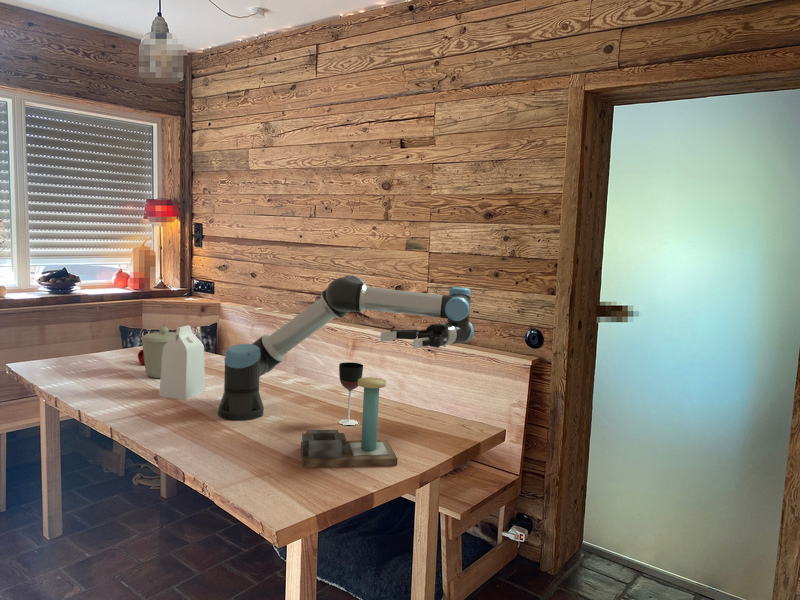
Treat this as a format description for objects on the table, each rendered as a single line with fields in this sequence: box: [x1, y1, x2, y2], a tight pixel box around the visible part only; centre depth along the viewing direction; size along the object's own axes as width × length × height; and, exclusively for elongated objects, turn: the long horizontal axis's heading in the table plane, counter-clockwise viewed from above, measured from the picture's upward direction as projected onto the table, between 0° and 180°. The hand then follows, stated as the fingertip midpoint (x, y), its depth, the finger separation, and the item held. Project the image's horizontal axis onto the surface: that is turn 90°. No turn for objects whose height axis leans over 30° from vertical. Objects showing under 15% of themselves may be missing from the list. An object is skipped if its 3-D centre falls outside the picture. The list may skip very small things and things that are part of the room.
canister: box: [140, 326, 176, 379], centre depth 247 cm, size 18×18×21 cm
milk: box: [158, 324, 206, 401], centre depth 221 cm, size 12×12×26 cm
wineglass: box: [338, 361, 364, 425], centre depth 198 cm, size 8×9×20 cm
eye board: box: [300, 429, 399, 469], centre depth 167 cm, size 26×15×6 cm, turn 102°
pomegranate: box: [137, 349, 145, 366], centre depth 267 cm, size 10×10×9 cm
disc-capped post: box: [358, 376, 387, 451], centre depth 168 cm, size 8×8×20 cm
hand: (397, 340), depth 179 cm, fingers open, 13 cm apart
